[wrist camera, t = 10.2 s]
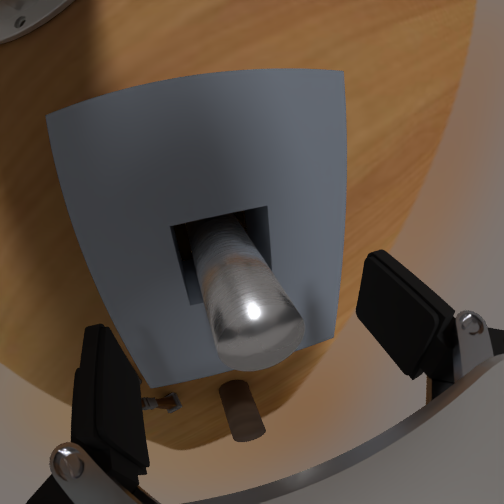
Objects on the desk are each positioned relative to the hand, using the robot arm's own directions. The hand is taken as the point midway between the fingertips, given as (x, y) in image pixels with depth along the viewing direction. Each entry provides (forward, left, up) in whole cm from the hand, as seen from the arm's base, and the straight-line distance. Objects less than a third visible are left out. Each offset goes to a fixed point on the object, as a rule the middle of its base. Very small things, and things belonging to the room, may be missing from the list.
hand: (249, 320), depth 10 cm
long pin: (+1, 0, -11) cm, 11 cm away
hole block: (+1, 0, -11) cm, 11 cm away
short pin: (+20, -1, -11) cm, 22 cm away
